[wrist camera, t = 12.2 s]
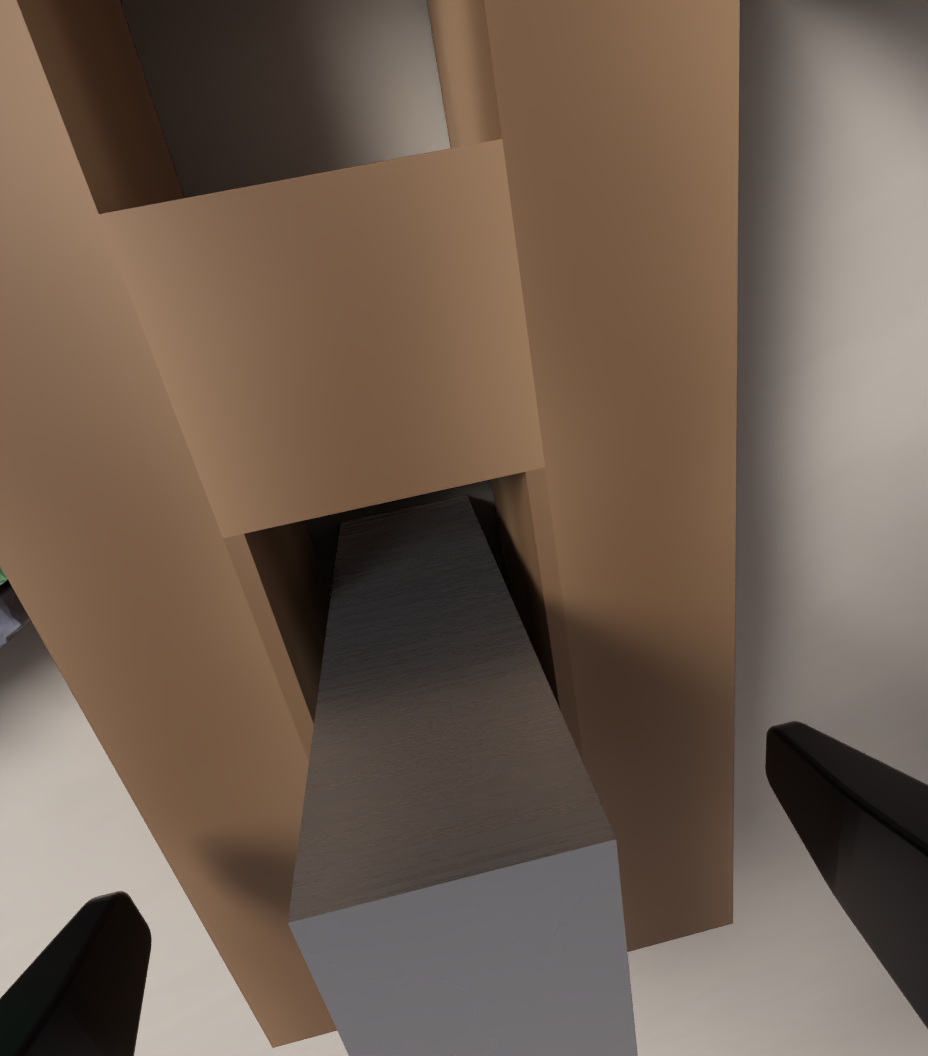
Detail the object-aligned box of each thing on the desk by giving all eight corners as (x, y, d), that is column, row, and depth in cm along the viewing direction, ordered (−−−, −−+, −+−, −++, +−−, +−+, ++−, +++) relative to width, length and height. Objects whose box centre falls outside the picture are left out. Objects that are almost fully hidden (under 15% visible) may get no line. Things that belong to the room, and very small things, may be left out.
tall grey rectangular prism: (467, 495, 11) (616, 839, 4) (511, 736, 14) (652, 1202, 7) (341, 522, 11) (288, 923, 4) (408, 761, 13) (445, 1262, 7)
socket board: (577, -374, 7) (745, -914, 4) (654, 783, 15) (732, 922, 12) (-209, -265, 7) (-764, -785, 3) (295, 875, 14) (273, 1048, 11)
